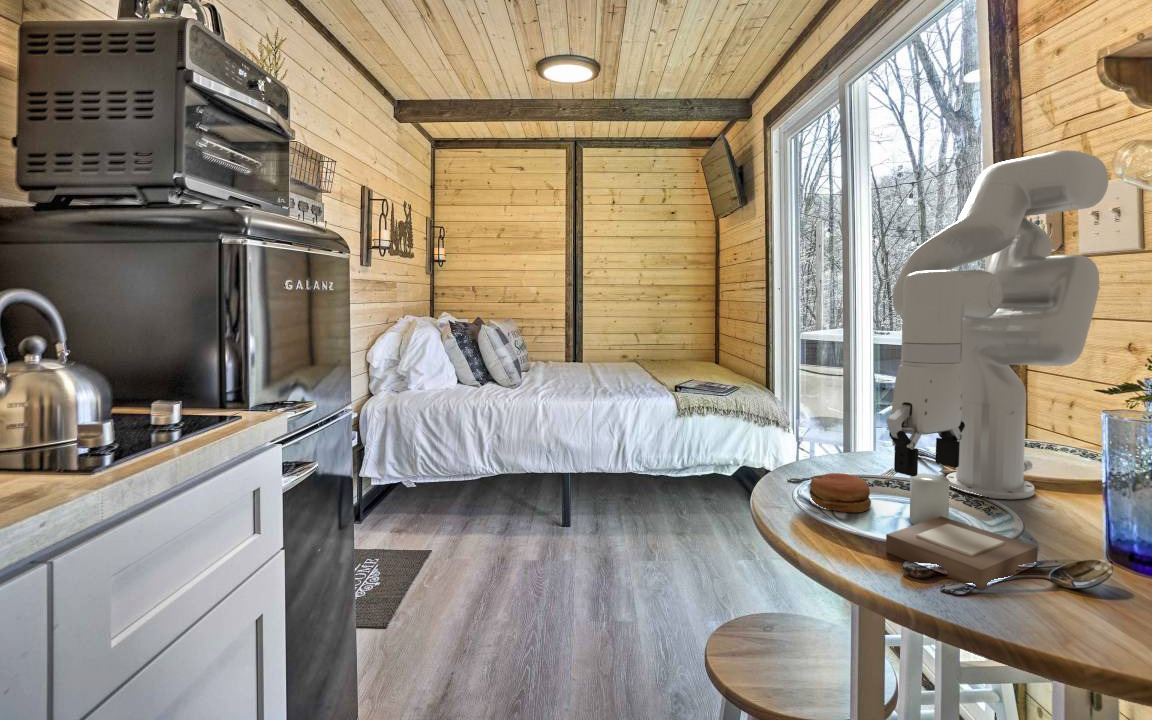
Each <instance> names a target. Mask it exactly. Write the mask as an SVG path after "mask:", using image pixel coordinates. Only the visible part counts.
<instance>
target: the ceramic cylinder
mask: <svg viewBox="0 0 1152 720" xmlns="http://www.w3.org/2000/svg"><path fill="white" fill-rule="evenodd" d="M909 481H910V482H909V522H910V524H911V525H912V526H913V525H916V524H919V523H922V522H925V521H928V520H931V519H934V518H937V517H940V516H942V517H945V518H948V519H950V518H949V516H950V515H949V513H950V486H949V479H947V478H946V476H943V475H938V474H933V473H918V474H917V476H909Z"/></svg>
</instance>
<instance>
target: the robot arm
mask: <svg viewBox="0 0 1152 720" xmlns="http://www.w3.org/2000/svg"><path fill="white" fill-rule="evenodd" d="M1108 187H1109V173H1108V169H1107V167H1106V165H1105V163H1104V162H1103V160H1101V159H1100V158H1098V157H1097V156H1095V155H1092V154H1088V153H1085V152H1082V151H1076V150H1056V151H1051V152H1045V153H1040V154H1035V155H1031V156H1024V157H1019V158H1014V159H1009V160H1005V161H1001V162H997V163H993V164H992V165H990V166H989V167H987V168H986V169H984V170H983V171H982V172H981V173H980V175H978V177H977V179H976V180H975V183H974V185H973V187H972V188H971V191H970V193H969V195H968V197H967V200H966V202H965V203H964V205H963V207H962V210H961V212H960V214H959V216H958V218H957V221H956V222H954V223H952V224H951V225H949V226H947V227H946V228H944V229H942V230H941V231H940V232H937V233H936V234H935V235H934V236H932V237H930V238H929V239H928V240H926V241H925V242H924V243H922V244H921V245H920V246H918V247H917V248H916V249H914V251H912V253H910V255H909V256H908V258H907V259H906V261H905V263H904V265H903V267H902V269H901V271H900V273H899V275H898V276H897V279H896V282H895V284H894V286H893V287H894V288H893V291H892V305H893V308H894V310H895V312H896V314H898V315H899V316H900V317H902V324H901V328H902V329H901V330H902V331H901V353H900V354H901V355H900V359H901V360H900V364H899V365H898V369H897V372H896V377H895V381H894V387H893V395H892V405H891V414H890V415H889V417H888V418H886V423H885V424H886V425H887V428H888V432H889V434H888V435H889V438H890V439H891V440H892V442H891V443H892V446H893V447H894V459H893V460H894V462H893V463H894V464H893V465H894V466H893V470H894V472H895V473H898V474H901V475H902V474H903V475H905V476H908V477H910V476H917V474H919V473H918V470H919V469H918V468H919V448H916V446H917V444H918V442H919V440H920V438H921V436H924V435H932V434H938V436H939V437H936V439H935V464H937V465H941V466H945V467H949V468H955V469H956V470H955V471H954V472H950V473H948V474H947V475H946V476H945V478H947V479H949V485H950V486H953V487H956V488H959V489H962V490H966V491H969V492H973V493H976V494H979V495H982V496H986V497H985V498H987V497H989V498H988V499H995V500H996V499H997V500H1022V499H1027V498H1030V497H1032V496H1034V495H1035V494H1036V492H1035V489H1036V488H1035V486H1034V484H1032V483H1031V482H1030V481H1029V480H1025V479H1024V474H1025V473H1024V472H1027V471H1031V470H1032V469H1033V464H1032V462H1031V461H1030V460H1028V459H1025V442H1026V441H1025V440H1026V412H1027V391H1026V387H1025V384H1024V383H1023V381H1022V380H1021V378H1020V377H1019V376H1018V375H1017V373H1016V372H1015V371H1014V370H1013V369H1012V367H1011V366H1014V365H1022V366H1038V367H1039V366H1040V367H1041V366H1042V367H1065V366H1069V365H1072V364H1073V363H1076V361H1077V360H1078V359H1079V358H1080V357H1081V355H1082V353H1083V351H1084V348H1085V344H1086V341H1087V339H1088V334H1089V330H1090V328H1091V327H1090V326H1091V322H1092V319H1093V316H1094V312H1095V308H1096V305H1097V300H1098V296H1099V291H1100V273H1099V270H1098V269H1099V268H1098V267H1097V264H1096V263H1095V262H1094V261H1093V260H1092V259H1091V258H1089V257H1088V256H1085V255H1080V254H1061V255H1060V254H1059V255H1058V254H1057V255H1052V251H1053V248H1054V244H1053V239H1052V238H1051V236H1050V235H1049V234H1048V233H1047V232H1046V231H1045V230H1044V229H1043V228H1041V227H1040V226H1039V225H1038V224H1037V223H1034V222H1033V221H1031V220H1029V219H1028V218H1027V217H1030V216H1036V215H1046V214H1054V213H1061V212H1070V211H1078V210H1085V209H1089V208H1092V207H1095V206H1096V205H1098V203H1101V201H1102V200H1103V198H1104V197H1105V195H1106V192H1107V190H1108ZM987 257H989V259H988V262H987V265H986V268H985V270H981V269H970V270H954V269H956V268H958V267H961V266H964V265H967V264H970V263H974V262H977V261H980V260H982V259H985V258H987ZM1010 365H1011V366H1010ZM907 434H909V435H910V437H909V436H908V435H907ZM950 486H949V487H950Z"/></svg>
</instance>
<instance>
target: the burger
mask: <svg viewBox="0 0 1152 720" xmlns="http://www.w3.org/2000/svg"><path fill="white" fill-rule="evenodd" d="M810 480H811V481H810V483H809V484H810V488H809V495H810V497H811V498H812V500H813V501H814V502H815V503H816V504H818V505H819V506H821V507H823V508H826V509H829V510H828V511H837V512H841V513H855V514H856V513H857V514H858V513H863V512H866V511H869V509H870V508H871V505H872V500H871V499H870V494H871V490H870V486H869V484H868V483H867V481H866V480H864V479H863V478H861V477H860V476H856V475H852V474H847V473H840V472H839V473H836V472H832V473H829V472H828V473H825V474H820V475H814V476H812V477H811V479H810Z"/></svg>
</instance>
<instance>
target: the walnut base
mask: <svg viewBox="0 0 1152 720" xmlns="http://www.w3.org/2000/svg"><path fill="white" fill-rule="evenodd" d="M885 536H886V537H885V539H886V540H885V552H886V553H888V554H891V555H893V556H895V557H898V558H900V559H903V560H905V561H907V562H910V563H912V562H918V563H931V564H937V565H939V566H941V567H942V568H943V569H944V570H946V571H947V573H948V574H949V575H948V576H946V577H947V578H950V579H952V580H955V581H957V582H959V583H962V584H964V583H973V584H975V585H976V586H977V589H976V590H979V591H982V590H986V589H987V588H990V587H992V586H993V585H991V586H987V583H988V582H990V581H991V580H994V579H998V578H1004V577H1008V576H1011V575H1013V574H1015V573H1016V570H1017V568H1018V565H1023V564H1026V563H1034V562H1037V563H1038V546H1036V545H1034V544H1031V543H1027V542H1025V541H1022V540H1021V541H1020V540H1018V539H1014V538H1012V537H1009V536H1005V535H1002V534H999V533H996V532H993V531H989V530H986V529H984V528H980V527H976V526H973V525H969V524H967V523H964V522H961V521H958V520H956V519H955V520H954V519H950V518H949V519H948V518H945V517H942V516H940V517H937V518H934V519H931V520H928V521H925V522H922V523H919V524H916V525H913V524H912V525H910V526H907V527H905V528H901V529H898V530H895V531H892V532H889V533H886V535H885Z"/></svg>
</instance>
